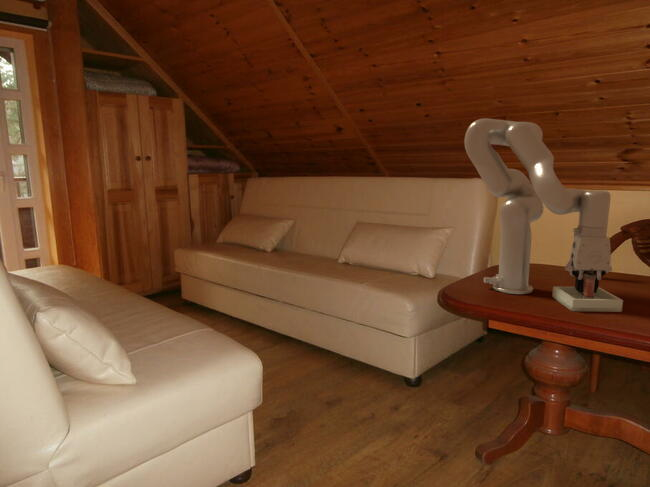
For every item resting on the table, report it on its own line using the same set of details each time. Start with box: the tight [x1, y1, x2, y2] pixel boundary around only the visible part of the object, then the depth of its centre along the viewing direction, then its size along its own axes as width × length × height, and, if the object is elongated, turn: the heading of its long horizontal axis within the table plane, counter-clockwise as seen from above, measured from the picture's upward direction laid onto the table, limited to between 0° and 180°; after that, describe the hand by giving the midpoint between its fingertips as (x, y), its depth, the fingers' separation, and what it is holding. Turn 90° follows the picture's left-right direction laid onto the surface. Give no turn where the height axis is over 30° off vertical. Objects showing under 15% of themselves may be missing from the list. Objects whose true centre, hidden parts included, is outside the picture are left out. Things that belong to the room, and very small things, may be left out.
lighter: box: [577, 268, 596, 299], centre depth 141 cm, size 8×3×10 cm, turn 169°
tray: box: [552, 285, 624, 313], centre depth 142 cm, size 14×14×4 cm
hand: (586, 290), depth 141 cm, fingers closed on lighter, 3 cm apart
